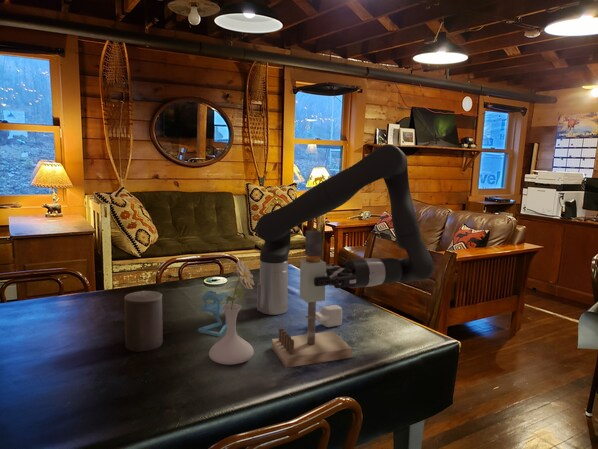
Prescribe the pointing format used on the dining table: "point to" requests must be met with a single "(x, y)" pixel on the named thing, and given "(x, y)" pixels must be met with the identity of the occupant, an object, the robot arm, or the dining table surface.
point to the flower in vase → (234, 326)
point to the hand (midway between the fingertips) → (308, 277)
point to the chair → (214, 312)
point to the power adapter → (330, 316)
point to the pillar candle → (143, 321)
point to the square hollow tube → (311, 280)
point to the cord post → (310, 327)
